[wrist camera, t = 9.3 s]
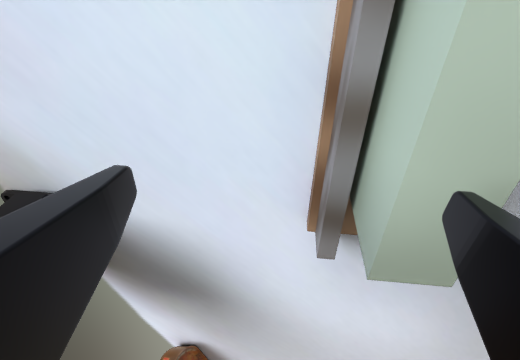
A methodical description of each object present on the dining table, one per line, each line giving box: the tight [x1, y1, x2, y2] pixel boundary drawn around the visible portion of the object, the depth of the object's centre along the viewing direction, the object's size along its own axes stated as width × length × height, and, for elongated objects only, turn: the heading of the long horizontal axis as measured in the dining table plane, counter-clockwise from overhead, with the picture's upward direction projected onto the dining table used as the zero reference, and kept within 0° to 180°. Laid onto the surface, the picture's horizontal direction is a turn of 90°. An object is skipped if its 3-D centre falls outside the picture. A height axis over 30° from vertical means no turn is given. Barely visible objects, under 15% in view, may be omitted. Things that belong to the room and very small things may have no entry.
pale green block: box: [350, 0, 520, 287], centre depth 14 cm, size 12×4×7 cm, turn 179°
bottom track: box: [307, 0, 395, 259], centre depth 17 cm, size 20×9×4 cm, turn 179°
